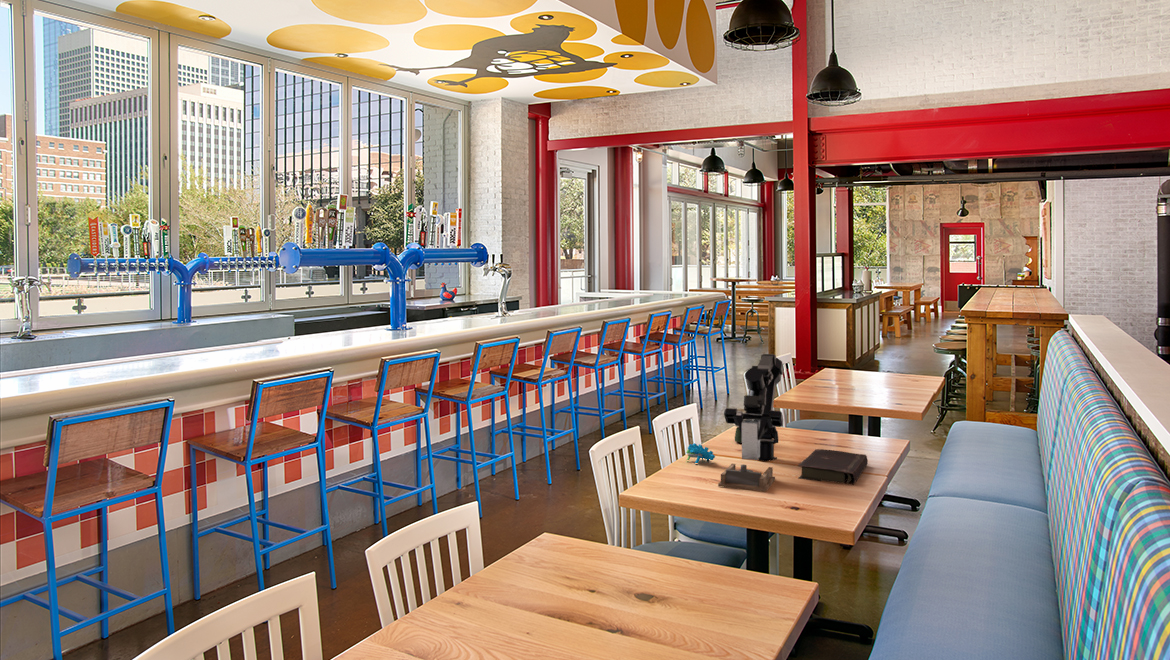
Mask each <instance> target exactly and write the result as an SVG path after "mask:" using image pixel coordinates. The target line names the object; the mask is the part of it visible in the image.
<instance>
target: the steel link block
mask: <svg viewBox="0 0 1170 660" xmlns="http://www.w3.org/2000/svg"><path fill="white" fill-rule="evenodd" d="M759 429H760V421H758V420H744V421H743V422H742V444H741V459H742V460H750V461H759V460H758V459H759V457H760V440H758V433H759Z"/></svg>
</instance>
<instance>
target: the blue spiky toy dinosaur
mask: <svg viewBox="0 0 1170 660" xmlns="http://www.w3.org/2000/svg"><path fill="white" fill-rule="evenodd" d="M709 449H710V448H709V447H706V446H705V447H704V446H703V444H700V443H699V444H698V445H697V443H694V442H693V443H692V444H691V443H690V444H689V446H688V447H687V449H686V454H687V459H686V461H687V460H689V461H690V459H691V458H695V459H696V460H695V462H694V464H695V463H698V464H699V462H700V460H701V459H700V458H702V459H703V458H704V460H706V459H707V460H709V459H710V460H709V461H711V460H714V459H715V458H716V455H715V454H714V451H712V450H710V451H709Z"/></svg>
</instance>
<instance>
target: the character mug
mask: <svg viewBox="0 0 1170 660" xmlns="http://www.w3.org/2000/svg"><path fill="white" fill-rule="evenodd" d="M737 411H740V412H742V413H745V412H746V411H744V408H737ZM744 420H747V419H744ZM744 420H743V421H744ZM733 426H734V427H736V429H735V433H734V434H735V435H734V442H737V443H740V444H741V443H742V439H741V434H740V429H739V426H736V425H735V424H733Z"/></svg>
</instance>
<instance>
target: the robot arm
mask: <svg viewBox="0 0 1170 660" xmlns="http://www.w3.org/2000/svg"><path fill="white" fill-rule="evenodd" d="M782 375H784V363H783V361H782V360H781V359H780V358H778V357H777V356H776V354H773V353H763V354H761V355H760V360H759V362H758V363H757V365H752V366H751V368H749V369H747V370H746V371H745V372H744V378H745V382H746V387H747V389H748V394H746V395H743V409H744V411H746V412H745V413H742V412H740V411H737V409H738V408H735V407H726V408H725V409H724V412H723V415H724V416H723V417H724V418H725V422H726V423H727V424H731V425H732V424H733V425H734V424H735V425H736V426H739V429H740V434H741V439H742V422H743V420H744V419H747V420H758V421H760V429H759V433H758V440H760V457H759V460H758V461H761V460H762V461H761V462H770V461H774V460H777V459H778V457H777V456H775V452H774V451H775V447H774V446H775V445H776V444H779V432H778V430H777V427H778V428H779V427H780V428H781V427H782V428H783V427H784V416H783V412H782V411H781V410H774V403H775V402H774V401H775V393H776V386H777V385H778V384H779V383H780V382H781V380H782ZM736 426H735V427H736ZM773 459H774V460H773ZM769 460H770V461H769Z"/></svg>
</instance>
